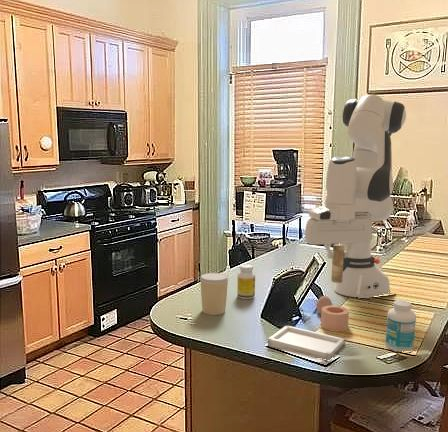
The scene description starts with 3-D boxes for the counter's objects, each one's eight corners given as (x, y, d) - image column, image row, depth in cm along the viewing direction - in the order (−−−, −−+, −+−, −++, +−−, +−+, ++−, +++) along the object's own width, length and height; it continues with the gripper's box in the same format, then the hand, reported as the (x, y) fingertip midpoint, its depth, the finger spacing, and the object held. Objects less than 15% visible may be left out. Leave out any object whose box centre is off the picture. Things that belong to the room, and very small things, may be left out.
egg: (319, 312, 167) (320, 292, 166) (334, 315, 165) (335, 295, 164) (313, 316, 163) (314, 296, 162) (328, 319, 160) (329, 299, 159)
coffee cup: (231, 308, 170) (232, 274, 168) (222, 317, 161) (222, 281, 160) (205, 304, 173) (206, 271, 171) (195, 313, 164) (195, 278, 163)
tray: (344, 346, 140) (344, 338, 140) (328, 362, 130) (329, 354, 130) (286, 332, 150) (286, 325, 149) (267, 345, 140) (267, 338, 139)
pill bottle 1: (253, 300, 179) (254, 268, 177) (235, 298, 180) (236, 267, 178) (255, 294, 185) (256, 264, 183) (238, 293, 186) (239, 263, 184)
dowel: (339, 279, 153) (341, 244, 151) (343, 282, 149) (345, 246, 148) (329, 280, 152) (331, 244, 150) (333, 283, 149) (335, 247, 147)
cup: (341, 323, 158) (342, 304, 157) (352, 332, 150) (353, 313, 149) (317, 324, 156) (317, 306, 155) (326, 334, 148) (327, 315, 147)
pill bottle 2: (380, 344, 142) (383, 298, 140) (406, 343, 143) (409, 298, 141) (391, 355, 135) (395, 307, 133) (418, 354, 135) (422, 307, 133)
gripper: (367, 209, 152) (365, 254, 155) (303, 211, 149) (302, 256, 151) (377, 213, 146) (375, 259, 148) (311, 214, 142) (309, 261, 145)
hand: (337, 257), depth 150 cm, fingers closed on dowel, 3 cm apart
